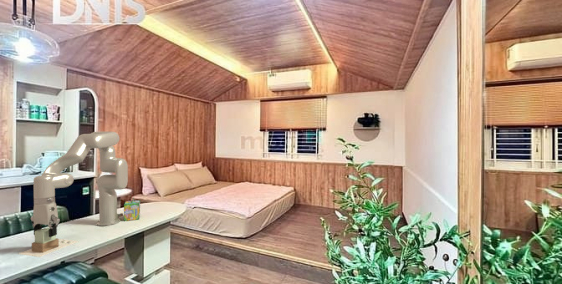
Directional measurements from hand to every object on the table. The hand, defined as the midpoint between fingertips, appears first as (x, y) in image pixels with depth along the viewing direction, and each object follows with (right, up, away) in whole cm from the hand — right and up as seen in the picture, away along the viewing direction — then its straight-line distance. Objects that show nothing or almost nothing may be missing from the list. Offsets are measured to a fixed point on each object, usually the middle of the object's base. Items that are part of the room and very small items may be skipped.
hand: (45, 235), depth 124 cm
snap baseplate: (+1, -8, +2) cm, 8 cm away
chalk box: (+14, -7, +49) cm, 52 cm away
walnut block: (0, -7, 0) cm, 7 cm away
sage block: (0, -3, 0) cm, 3 cm away
